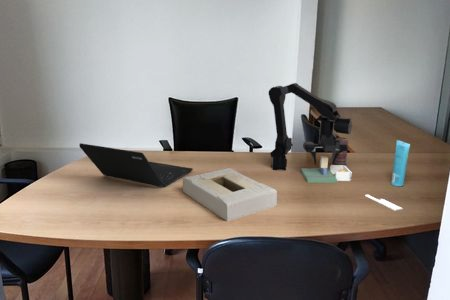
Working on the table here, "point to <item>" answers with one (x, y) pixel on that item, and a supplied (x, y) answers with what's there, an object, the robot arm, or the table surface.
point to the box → (229, 193)
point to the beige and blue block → (323, 164)
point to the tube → (400, 163)
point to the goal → (341, 175)
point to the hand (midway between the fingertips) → (323, 164)
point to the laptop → (132, 166)
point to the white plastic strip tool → (385, 203)
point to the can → (342, 156)
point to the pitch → (318, 176)
